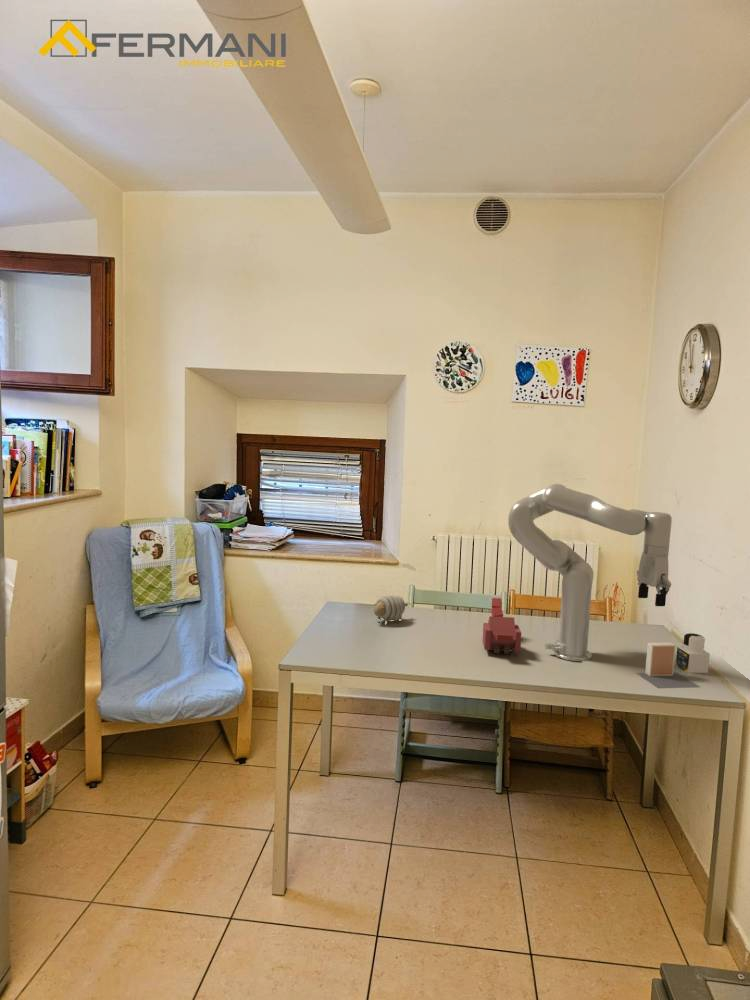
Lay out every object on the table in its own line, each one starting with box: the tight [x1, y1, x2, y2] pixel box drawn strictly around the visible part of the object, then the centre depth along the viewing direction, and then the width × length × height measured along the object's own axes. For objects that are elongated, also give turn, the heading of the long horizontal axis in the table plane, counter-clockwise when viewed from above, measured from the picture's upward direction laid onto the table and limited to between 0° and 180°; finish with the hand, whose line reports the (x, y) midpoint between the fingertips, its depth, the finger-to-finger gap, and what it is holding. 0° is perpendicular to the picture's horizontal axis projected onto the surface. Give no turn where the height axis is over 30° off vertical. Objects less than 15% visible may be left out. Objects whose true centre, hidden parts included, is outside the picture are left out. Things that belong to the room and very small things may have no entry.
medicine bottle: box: [675, 632, 711, 674], centre depth 205 cm, size 7×7×12 cm
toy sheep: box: [373, 593, 409, 622], centre depth 247 cm, size 11×17×11 cm, turn 135°
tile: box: [644, 641, 677, 676], centre depth 199 cm, size 8×3×10 cm, turn 98°
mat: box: [636, 671, 701, 689], centre depth 195 cm, size 14×12×1 cm
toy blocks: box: [481, 597, 522, 655], centre depth 222 cm, size 12×20×25 cm
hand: (651, 601), depth 205 cm, fingers open, 9 cm apart
